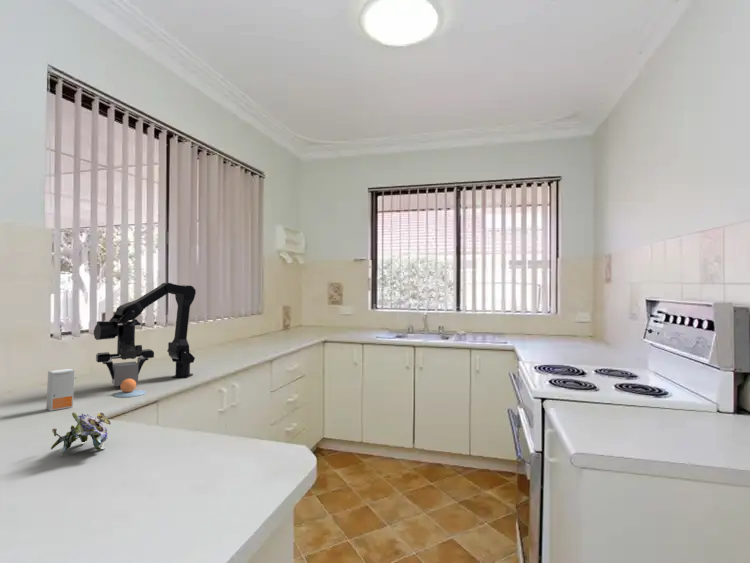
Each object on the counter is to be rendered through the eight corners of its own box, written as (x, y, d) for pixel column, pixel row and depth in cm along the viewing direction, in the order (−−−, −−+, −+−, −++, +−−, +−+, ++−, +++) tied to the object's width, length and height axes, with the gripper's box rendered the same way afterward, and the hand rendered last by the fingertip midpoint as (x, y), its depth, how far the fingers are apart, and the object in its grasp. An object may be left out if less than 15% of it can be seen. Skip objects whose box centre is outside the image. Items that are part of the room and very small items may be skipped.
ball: (128, 387, 146) (127, 397, 148) (140, 379, 150) (138, 390, 152) (117, 380, 146) (116, 391, 148) (129, 373, 151) (128, 384, 153)
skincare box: (50, 411, 125) (51, 372, 126) (46, 409, 128) (47, 370, 128) (73, 407, 130) (75, 369, 130) (69, 404, 133) (70, 368, 133)
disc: (125, 390, 152) (125, 389, 152) (151, 390, 152) (151, 390, 152) (107, 397, 142) (107, 396, 142) (135, 397, 142) (135, 397, 142)
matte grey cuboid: (111, 382, 158) (112, 363, 158) (134, 379, 163) (134, 361, 163) (114, 385, 152) (115, 366, 152) (138, 383, 157) (138, 364, 157)
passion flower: (100, 472, 97) (115, 438, 94) (42, 477, 90) (57, 440, 87) (100, 434, 105) (115, 401, 102) (48, 435, 98) (61, 400, 94)
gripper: (99, 341, 145) (98, 385, 145) (157, 338, 157) (156, 378, 157) (96, 338, 154) (95, 379, 154) (151, 335, 166) (150, 373, 166)
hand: (125, 377), depth 157 cm, fingers closed on matte grey cuboid, 8 cm apart
